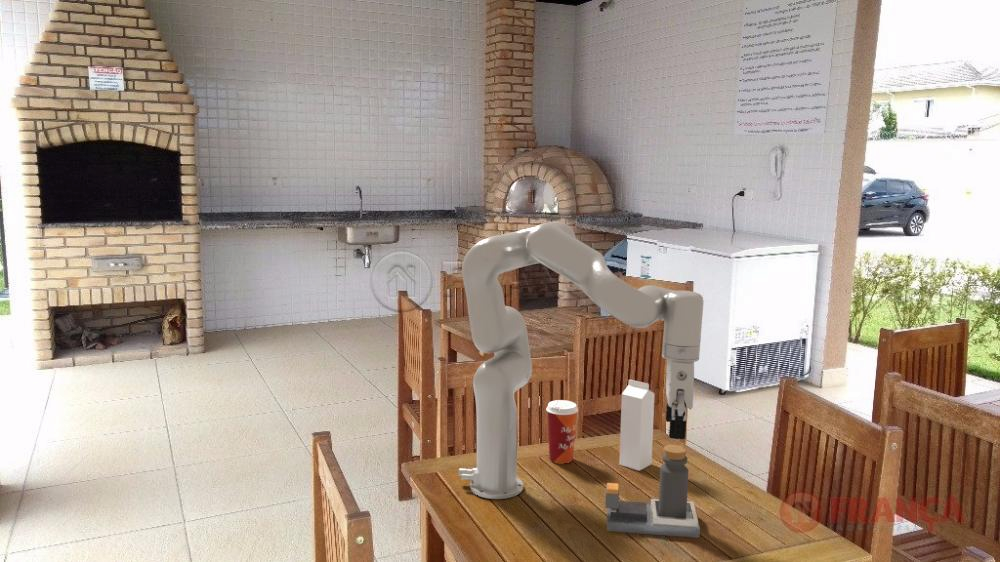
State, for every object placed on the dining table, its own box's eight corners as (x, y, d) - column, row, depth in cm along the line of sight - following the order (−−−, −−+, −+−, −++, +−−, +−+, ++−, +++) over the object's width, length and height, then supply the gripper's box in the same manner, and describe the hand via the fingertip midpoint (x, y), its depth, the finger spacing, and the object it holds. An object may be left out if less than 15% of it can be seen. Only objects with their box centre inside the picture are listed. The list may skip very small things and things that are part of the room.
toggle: (605, 507, 164) (606, 489, 164) (605, 500, 168) (606, 482, 167) (618, 508, 164) (619, 490, 163) (618, 501, 167) (619, 483, 167)
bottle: (686, 522, 161) (690, 454, 159) (658, 520, 162) (661, 452, 160) (685, 510, 167) (689, 444, 165) (658, 507, 168) (661, 442, 166)
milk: (639, 471, 193) (642, 386, 189) (618, 464, 197) (621, 381, 193) (652, 464, 197) (655, 381, 193) (631, 457, 201) (634, 376, 197)
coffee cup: (568, 468, 194) (569, 411, 191) (539, 461, 198) (540, 405, 196) (582, 457, 201) (584, 402, 198) (554, 451, 205) (555, 397, 203)
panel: (606, 530, 162) (607, 515, 161) (607, 509, 171) (607, 494, 171) (699, 537, 159) (700, 522, 158) (694, 515, 169) (695, 500, 168)
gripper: (704, 363, 150) (697, 446, 152) (695, 341, 166) (689, 417, 169) (665, 360, 151) (659, 443, 154) (659, 339, 167) (654, 414, 170)
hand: (675, 429), depth 161 cm, fingers open, 9 cm apart
